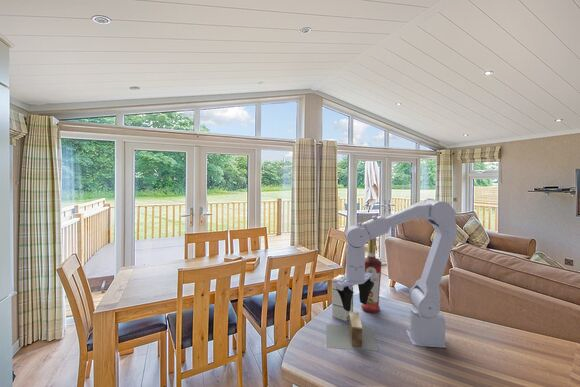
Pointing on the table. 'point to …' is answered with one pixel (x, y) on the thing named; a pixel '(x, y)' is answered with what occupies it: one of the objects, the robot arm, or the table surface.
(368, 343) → the mat
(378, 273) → the liquor
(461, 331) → the table surface
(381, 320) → the table surface
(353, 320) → the slab
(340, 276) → the syrup box
